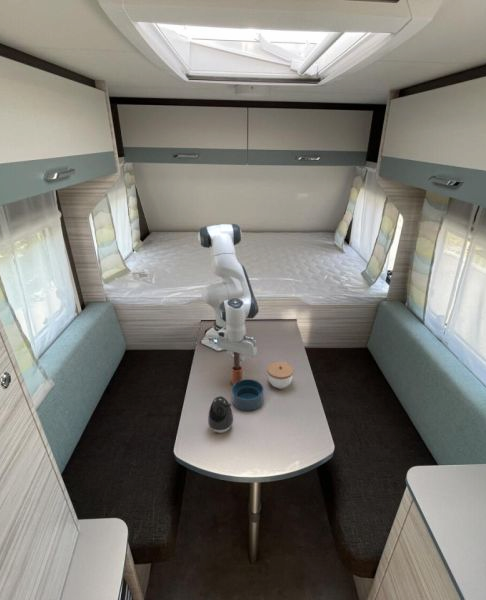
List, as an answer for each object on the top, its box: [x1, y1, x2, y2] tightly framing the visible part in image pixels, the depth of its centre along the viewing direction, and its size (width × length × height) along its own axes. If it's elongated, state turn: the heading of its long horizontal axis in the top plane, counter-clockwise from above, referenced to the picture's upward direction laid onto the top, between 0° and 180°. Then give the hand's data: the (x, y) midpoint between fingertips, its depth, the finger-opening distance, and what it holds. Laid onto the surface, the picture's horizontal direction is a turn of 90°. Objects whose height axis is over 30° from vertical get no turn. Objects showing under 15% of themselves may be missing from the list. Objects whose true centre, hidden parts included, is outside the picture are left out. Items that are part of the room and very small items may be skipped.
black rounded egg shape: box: [207, 395, 234, 434], centre depth 132 cm, size 10×10×15 cm
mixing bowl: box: [231, 378, 265, 412], centre depth 148 cm, size 14×14×7 cm
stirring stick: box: [233, 352, 241, 370], centre depth 157 cm, size 2×2×18 cm
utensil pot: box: [231, 364, 244, 386], centre depth 159 cm, size 5×5×9 cm
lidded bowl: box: [266, 361, 294, 390], centre depth 158 cm, size 13×13×11 cm
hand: (236, 358), depth 155 cm, fingers open, 5 cm apart
